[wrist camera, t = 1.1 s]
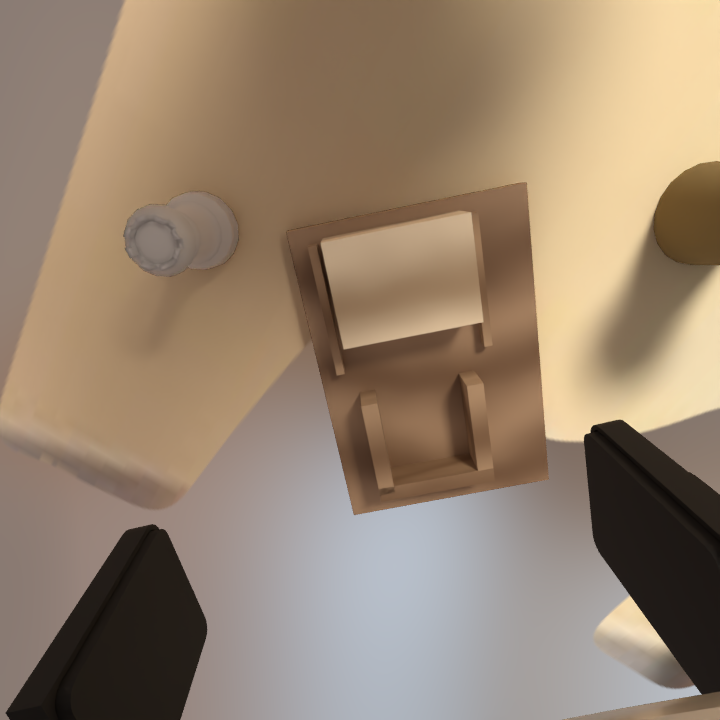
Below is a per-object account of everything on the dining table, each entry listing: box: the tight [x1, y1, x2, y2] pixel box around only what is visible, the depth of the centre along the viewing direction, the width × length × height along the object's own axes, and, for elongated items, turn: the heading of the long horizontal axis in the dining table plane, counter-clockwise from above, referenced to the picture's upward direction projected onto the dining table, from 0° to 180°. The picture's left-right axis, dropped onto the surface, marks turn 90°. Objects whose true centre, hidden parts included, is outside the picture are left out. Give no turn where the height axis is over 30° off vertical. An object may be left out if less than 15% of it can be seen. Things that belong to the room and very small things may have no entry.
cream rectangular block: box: [321, 210, 483, 349], centre depth 27 cm, size 6×8×3 cm
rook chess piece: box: [123, 191, 239, 277], centre depth 25 cm, size 4×4×8 cm
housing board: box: [286, 183, 549, 515], centre depth 30 cm, size 20×14×3 cm
